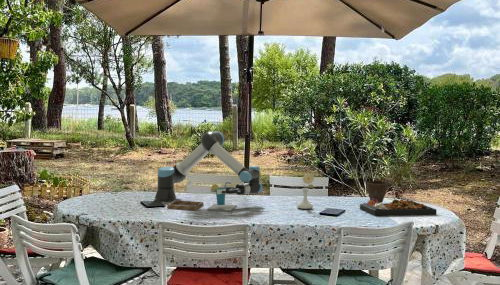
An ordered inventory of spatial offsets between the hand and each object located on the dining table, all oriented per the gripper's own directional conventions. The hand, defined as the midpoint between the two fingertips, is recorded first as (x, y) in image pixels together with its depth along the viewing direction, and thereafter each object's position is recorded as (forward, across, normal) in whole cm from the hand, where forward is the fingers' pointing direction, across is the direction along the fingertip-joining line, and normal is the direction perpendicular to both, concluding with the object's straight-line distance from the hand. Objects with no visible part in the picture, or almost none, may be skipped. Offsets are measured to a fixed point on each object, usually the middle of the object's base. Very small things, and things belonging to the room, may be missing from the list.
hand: (214, 191), depth 421 cm
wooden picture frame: (+14, +14, -12) cm, 23 cm away
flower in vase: (-58, -27, -12) cm, 65 cm away
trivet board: (-6, -1, -12) cm, 14 cm away
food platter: (-108, -65, -13) cm, 127 cm away
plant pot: (-118, -35, -12) cm, 124 cm away
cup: (-6, -1, -10) cm, 11 cm away
